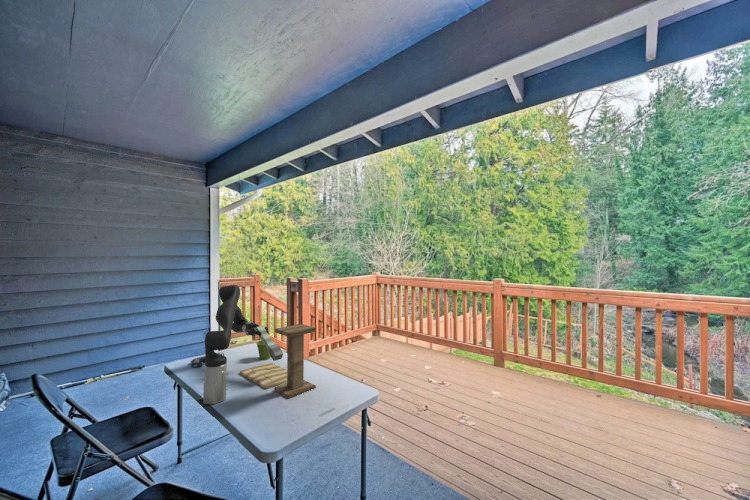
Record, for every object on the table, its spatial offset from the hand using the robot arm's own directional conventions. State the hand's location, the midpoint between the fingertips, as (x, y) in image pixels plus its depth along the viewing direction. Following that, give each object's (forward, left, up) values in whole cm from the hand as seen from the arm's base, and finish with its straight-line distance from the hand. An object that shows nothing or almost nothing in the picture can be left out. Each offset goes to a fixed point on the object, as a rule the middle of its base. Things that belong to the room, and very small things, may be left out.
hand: (264, 333), depth 180 cm
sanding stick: (-3, -4, -6) cm, 7 cm away
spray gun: (+12, +44, -24) cm, 52 cm away
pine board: (-4, -5, -24) cm, 25 cm away
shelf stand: (-19, -27, -24) cm, 41 cm away
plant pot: (+25, +12, -24) cm, 36 cm away
